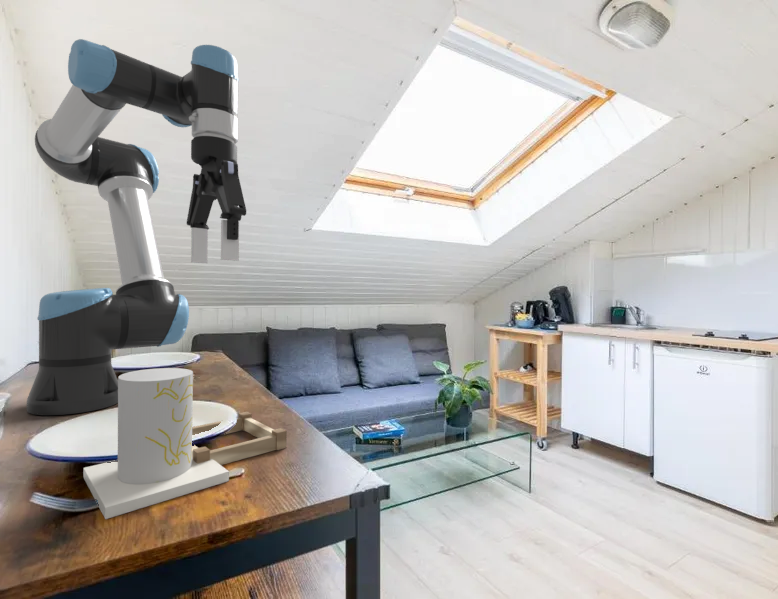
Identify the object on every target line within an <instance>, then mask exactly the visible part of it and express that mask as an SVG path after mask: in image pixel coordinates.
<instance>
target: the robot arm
mask: <svg viewBox="0 0 778 599" xmlns="http://www.w3.org/2000/svg"><path fill="white" fill-rule="evenodd" d="M190 65H191V70H190V71H189V72H187V73H186V74H185V75H183V76H180V75H178V74H176V73H173V72H170V71H168V70H165V69H162V68H160V67H158V66H155V65H153V64H149V63H147V62H145V61H142V60H140V59H137V58H135V57H132V56H129V55H126V54H125V53H122V52H119V51H117V50H115V49H112V48H110V47H108V46H106V45H104V44H98V43H96V42H92V41H89V40H87V39H83V38H82V39H81V38H79V39H77V40H74V41H73V43H72V44H71V47H70V52H69V54H68V61H67V74H68V79H69V81H70V83H71V84H72V86H71V87H70V88H69V90H68V92H67V94H66V95H65V96H64V98H63V100H62V102H61V103H60V104H59V106H58V108H57V110H56V111H55V112H54V115H53V116H52V117H51V118H50V119H47V120H44V121H43V122H42V123H40V125H39V127H38V128H37V130H36V132H35V135H34V146H35V148H36V152H37V153H38V155H39V158H40V159H41V160H42V161H43V162H44V164H45V165H46V166H48V167H49V168H50V170H52V171H53V172H55V173H56V174H57V175H59V176H60V177H63V178H64V179H67V180H69V181H72V182H75V183H80V184H83V185H89V186H94V187H97V190H98V194H99V196H100V197H101V198H102V199H103V200H104V201H107V204H108V205H107V206H108V210H109V216H110V221H111V222H110V223H111V228H112V234H113V239H114V244H115V251H116V256H117V257H116V258H117V262H118V267H119V274H120V279H121V285H120V286H119V287H117V289H116V291H115V294H113V293H114V292H113V291H112V289H111V287H99V288H98V287H97V288H95V287H94V288H86V289H83V288H82V289H74V290H66V291H64V290H63V291H56V292H50V293H47V294H44V295H43V296H42V297H41V299H39V307H38V308H39V309H38V316H37V320H38V371H37V374H36V375H35V376H36V377H34V378H35V379H34V380H33V383H32V386H31V389H30V391H29V393H28V396H27V399H26V412H27V413H29V414H32V415H37V416H38V415H39V416H59V415H60V416H62V415H63V416H64V415H72V414H81V413H82V414H83V413H87V412H88V413H89V412H93V411H96V410H98V411H99V410H101V409H106V408H109V407H112V406H115V405H116V404H117V405H118V378H117V375H116V373H115V370H114V368H113V365H112V351H114V350H123V349H124V350H126V349H137V348H149V347H150V348H151V347H157V348H158V347H162V346H168V345H173V344H176V343H178V342H180V340H181V339H182V338H183V337H184V335H185V333H186V331H187V327H188V325H189V324H188V323H189V319H190V318H189V317H190V307H189V301H188V299H187V297H186V296H185V295H183V294H180V293H177V294H176V292H175V288H174V285H173V283H172V282H171V281H169V280H167V279H166V278H165V276H164V274H165V273H164V271H163V266H162V261H161V255H160V252H159V246H158V242H157V236H156V232H155V225H154V221H153V216H152V212H151V207H150V202H149V200H150V199H151V198H152V196H153V195H154V193H156V191H157V189H158V187H159V181H160V177H159V174H160V170H159V166H158V162H157V160H156V158H155V156H154V154H153V153H152V152H151V151H149V150H148V149H146V148H143V147H140V146H137V145H135V144H132V143H123V142H119V141H115V140H112V139H107V138H103V137H100V135H101V134H102V133H103V131H104V130H105V129H106V128H107V127H108V126H109V125H110V123H111V122H112V121H113V119H114V118H116V116H117V115H118V114H119V112H120V111H121V110H122V109H123V108H124V107H125V106H126V105H131V106H134V107H137V108H141V109H145V110H147V111H150V112H153V113H156V114H160V115H162V117H163V118H164V119H165V120H166V121H168V122H169V123H170V124H171V125H173V126H175V127H177V128H188V127H191V136H192V137H193V138H192V139H191V142H190V148H191V149H190V150H191V151H190V153H191V154H190V155H191V156H190V158H191V159H190V160H192V162H194V163H195V164H196V165H199V166H200V168H201V169H200V173H199V174H197V173H194V174H193V176H192V190H191V195H190V201H189V205H188V213H187V219H186V225H187V226H190V229H191V232H190V233H191V235H190V236H191V238H190V239H191V241H190V242H191V243H190V244H191V246H190V248H191V249H190V251H191V252H190V253H191V256H190V263H194V264H195V263H196V264H208V245H209V244H208V243H209V242H208V240H209V238H208V235H209V234H208V230H210V228H209V226H208V224H207V223H208V220H209V217H210V213H211V210H212V207H213V203H214V201H216V200H217V202H218V205H219V207H220V208H219V209H220V210H221V214H220V216H219V219H221V220H220V260H221V261H222V260H223V261H234V262H235V261H237V262H239V259H240V256H239V255H240V254H239V253H240V252H239V251H240V248H239V247H240V242H239V241H240V222H241V220H242V216H246V215H247V208H246V203H245V200H244V198H245V197H244V195H243V189H242V186H241V181H240V177H239V164H238V146H237V143H238V140H239V139H238V138H239V137H238V136H239V135H238V134H239V133H238V131H239V127H238V126H239V124H238V123H239V119H238V111H239V110H238V109H239V108H238V104H239V100H238V99H239V81H240V79H239V76H238V74H239V73H238V61H237V59H236V56H234V55H233V54H232V53H231V52H230V51H228V50H227V49H224V48H222V47H221V46H217V45H212V44H202V45H201V44H200V45H198V46H196V47H195V48H193V50H192V55H191V61H190Z"/></svg>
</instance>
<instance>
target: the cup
mask: <svg viewBox="0 0 778 599" xmlns="http://www.w3.org/2000/svg"><path fill="white" fill-rule="evenodd" d="M117 380H118V403H117V460H118V479H119V480H120V481H122V482H124V483H128V484H150V483H157V482H161V481H166V480H169V479H172V478H175V477H177V476H179V475H182V474H183V473H185V472H186V471H188V470H189V469H190V468H191V466H192V443H193V442H192V427H193V402H194V400H193V398H194V395H193V393H194V391H193V389H194V371H193V370H191V369H187V368H179V367H176V368H175V367H161V368H160V367H159V368H157V367H156V368H147V369H140V370H133V371H129V372H125V373H122V374H120V375H119V376H118V378H117Z"/></svg>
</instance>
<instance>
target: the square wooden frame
mask: <svg viewBox="0 0 778 599" xmlns="http://www.w3.org/2000/svg"><path fill="white" fill-rule="evenodd" d="M237 418H238V419H237V423H236V425H235V426H234V427H233V428H232V429H231V430H230V431H229V432H227V433H226V434H225V435H227V434H228V435H229V434H231V433H232V434H233V433H236V432H240V431H242V432H243V431H244V432H246V433H248V434H250V435H251V436H253V437H255V438H253V439H252V440H251V439H250V440H247V441H243V442H242V441H241V442H239V443H234V444H230V445H226V446H223V447H219V448H215V449H210V448H208V447H207V446H201V447H198V446H196V445H195V444H194V446H192V457H193V460H194V461H195V462H196V463H197V464H198V463H202V462H205V461H209V460H210V459H213V460H215V461H216V462H217V463H219V464H220V465H221V466H223V465H226V464H230V463H234V462H238V461H241V460H244V459H247V458H252V457H255V456H258V455H262V454H265V453H266V454H267V453H269V452H272V451H280V450H284V449H286V448H287V435H288V434H287V433H288V431H287V430H286V429H284V428H281V427H280V428H276V429H274V428H272V427H270V426H268V425H266V424H263V423H261V422H260V421H258V420H255V419H254V418H253V416H252V412H249V411H244V412H238V417H237ZM221 421H222V420H219V421H214V422H210V423H205V424H200V425H195V426H192V435H195V434H199V433H201V432H205V431H209V430H211V429H212V428H214V427H216V426H218V425H219V424H220V423H221Z"/></svg>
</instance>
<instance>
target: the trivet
mask: <svg viewBox="0 0 778 599" xmlns="http://www.w3.org/2000/svg"><path fill="white" fill-rule="evenodd" d="M110 462H111V461H110ZM82 468H83V472H82V473H83V480H84V481H85V484H86V485H87V487H88V489H89V490H90V493H91V495H92V496H93V500H95V499H97V500H98V504H99V506H98V508H99V510H100V512H101V513H102V515H103V517H104V519H105V520H108V519H110V518H114V517H118V516H120V515H124V514H127V513H129V512H133V511H136V510H140V509H143V508H146V507H150V506H152V505H156V504H159V503H162V502H165V501H168V500H169V501H170V500H172V499H175V498H179V497H182V496H184V495H188V494H191V493H195V492H198V491H201V490H204V489H207V488H210V487H214V486H216V485H221V484H224V483H227V482H229V481H230V471H229V470H228V469H227V468H225V467H224V466H223V465H220V464H219V463H217V462H216V461H215V460H213V459H210V460H209V461H205V462H202V463H198V464H197V463H196V462H195V461H194V460H193V457H192V466H191V468H190V469H189V470H188V471H186V472H185V473H183V474H182V475H179V476H177V477H175V478H172V479H169V480H166V481H161V482H157V483H150V484H128V483H124V482H122V481H120V480H119V479H118V462H111V463H107V462H104V463H98V464H94V465H90V466H85V467H82ZM98 504H97V505H98Z"/></svg>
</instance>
